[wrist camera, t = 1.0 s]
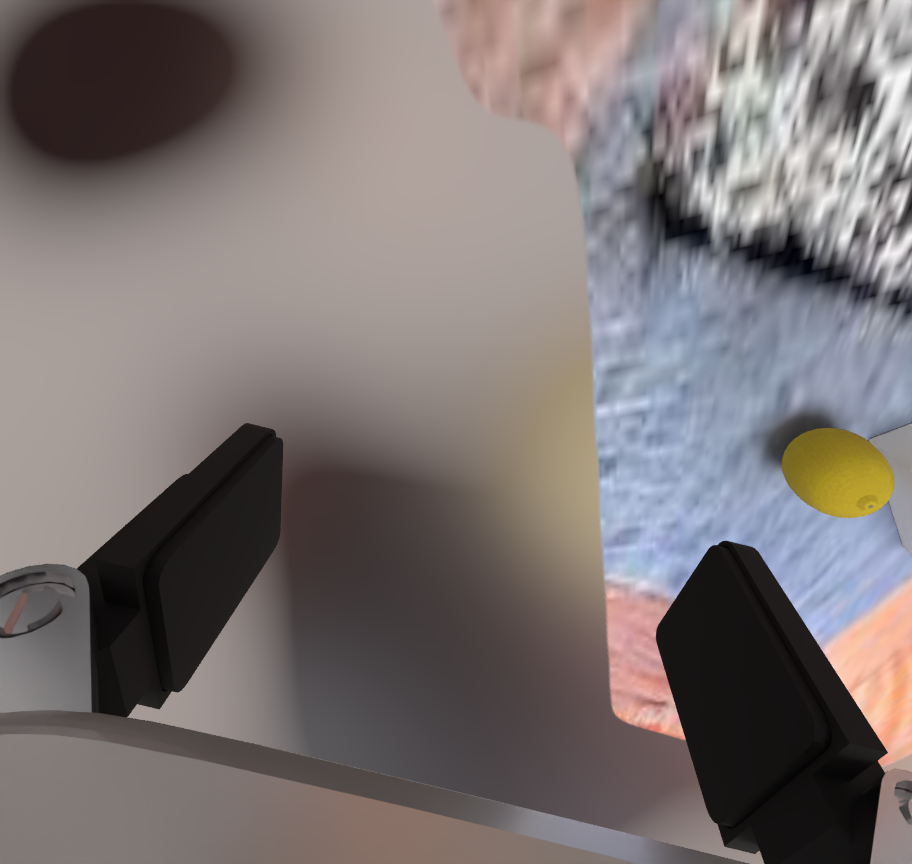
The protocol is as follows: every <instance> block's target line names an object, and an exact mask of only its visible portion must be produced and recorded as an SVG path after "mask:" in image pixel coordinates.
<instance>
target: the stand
mask: <svg viewBox="0 0 912 864" xmlns="http://www.w3.org/2000/svg"><path fill="white" fill-rule="evenodd" d="M869 442H870V443H871V444H872V445H874V446H875V447H876V448H877V449H878V450H879V451H880V452H881V453H882V454H883V455H884V457H885V458H886V459H887V461H888V463H889V465H890V467H891V469H892V471H893V473H894V480H895V487H894V490H893V493H892V496H891V497H890V499H889V500H888V501H889V504H890V507H891V510H892V514H893V517H894V520H895V523H896V526H897V529H898V532H899V535H900V538H901V541H902V545H903V547H904V548H905V549H906V550H907V551H908V552H909V553H910V554H911V555H912V423H911V424H908V425H906V426H903V427H900V428H898V429H895V430H892V431H890V432H887V433H884V434H882V435H879V436H877V437H874V438H871V439H869Z"/></svg>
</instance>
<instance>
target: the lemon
mask: <svg viewBox="0 0 912 864" xmlns="http://www.w3.org/2000/svg"><path fill="white" fill-rule="evenodd" d="M782 471H783V474H784V476H785V479H786V481H787V483H788V485H789V486H790V488H791V489H792V490H793V491H794V492H795V493H796V495H797V496H798V497H799V498H800V499H802V500H803V501H804V502H805V503H807V504H808V505H810V506H812V507H813V508H815V509H817V510H818V511H820V512H822V513H825V514H828V515H831V516H835V517H841V518H855V517H861V516H865V515H869V514H871V513H873V512H875V511H877V510H879V509H880V508H882V507H883V506H884V505H885V504H886V503H887V502H888V500H889V499H890V497H891V496H892V493H893V490H894V487H895V480H894V473H893V471H892V469H891V467H890V465H889V463H888V461H887V459H886V458H885V457H884V455H883V454H882V453H881V452H880V451H879V450H878V449H877V448H876V447H875V446H874V445H872V444H871V443H870V442H869V441H868V440H866V439H865V438H863V437H861V436H859V435H856V434H854V433H852V432H849V431H846V430H842V429H836V428H819V429H814V430H810V431H807V432H805V433H803V434H801V435H799V436H798V437H796V438H795V439H794V440H793V441H792V442H791V443H790V444H789V445H788V447H787V448H786V450H785V451H784V455H783V458H782Z"/></svg>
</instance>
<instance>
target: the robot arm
mask: <svg viewBox="0 0 912 864" xmlns="http://www.w3.org/2000/svg"><path fill="white" fill-rule="evenodd" d="M282 462H283V441H282V439H281V438H278V437H276V433H275V431H274V430H273V429H270V428H265V427H261V426H257V425H253V424H249V423H246V424H244V425H242V426H241V427H240V428H239V429H238V430H237V431H236V432H235V433H233V434H232V436H230V437H229V438H228V439H227V440H226V441H225V442H224V443H222V444H221V445H220V446H219V447H218V448H217V449H216V450H215V451H214V452H212V453H211V454H210V455H209V456H208V457H207V458H206V459H205V460H204V461H202V462H201V463H200V464H199V465H198V466H197V467H196V468H195V469H194V470H193V471H191V472H190V473H189V474H185V475H183V476H182V477H180V478H179V479H177V480H176V481H175V482H174V483H173V484H171V486H169V487H168V488H167V489H166V490H165V491H164V492H163V493H162V494H160V495H159V496H158V497H157V498H156V499H155V500H153V501H152V502H151V503H150V504H149V505H148V506H147V507H146V508H144V509H143V510H142V511H141V512H140V513H139V514H138V515H137V516H135V517H134V518H133V519H132V520H131V521H130V522H129V523H128V524H126V525H125V527H123V528H122V529H121V530H120V531H119V532H117V533H116V534H115V535H114V536H113V537H112V538H111V539H110V540H109V541H107V542H106V543H105V544H104V545H103V546H102V547H101V548H100V549H98V550H97V551H96V552H95V553H94V554H93V555H92V556H91V557H89V558H88V559H87V560H86V561H85V562H84V563H83V564H82V565H80V566H79V567H78V568H77V569H75V568H72V567H69V566H66V565H59V564H42V565H34V566H28V567H24V568H21V569H17V570H14V571H11V572H7V573H5V574H3V575H1V576H0V864H748V863H744V862H740V861H736V860H732V859H728V858H724V857H720V856H716V855H712V854H708V853H704V852H700V851H696V850H692V849H688V848H684V847H680V846H676V845H671V844H668V843H664V842H659V841H656V840H652V839H648V838H644V837H639V836H636V835H632V834H628V833H624V832H620V831H616V830H611V829H607V828H603V827H599V826H595V825H591V824H587V823H583V822H579V821H575V820H571V819H567V818H562V817H558V816H554V815H550V814H545V813H542V812H537V811H533V810H529V809H525V808H521V807H517V806H513V805H509V804H505V803H501V802H496V801H493V800H488V799H484V798H480V797H476V796H472V795H468V794H463V793H459V792H455V791H451V790H447V789H443V788H438V787H435V786H430V785H426V784H422V783H418V782H414V781H409V780H406V779H401V778H397V777H393V776H388V775H384V774H380V773H376V772H371V771H368V770H363V769H359V768H354V767H351V766H346V765H342V764H338V763H334V762H330V761H325V760H321V759H317V758H312V757H308V756H304V755H300V754H296V753H291V752H287V751H283V750H279V749H274V748H270V747H266V746H262V745H258V744H253V743H249V742H244V741H239V740H235V739H230V738H226V737H221V736H216V735H212V734H207V733H202V732H198V731H193V730H189V729H184V728H179V727H175V726H170V725H166V724H161V723H156V722H151V721H145V720H138V719H133V718H126V717H128V716H129V714H130V713H131V711H132V710H133V709H134V707H135V706H136V705H137V704H139V705H143V706H148V707H152V708H156V709H160V708H161V707H162V705H163V704H164V702H165V701H166V699H167V698H168V696H169V695H170V693H171V692H172V691H174V692H179V691H181V690H182V689H183V688H184V687H185V685H186V684H187V683H188V681H189V680H190V678H191V677H192V675H193V674H194V672H195V670H196V669H197V667H198V666H199V664H200V663H201V661H202V660H203V658H204V657H205V655H206V654H207V652H208V651H209V649H210V648H211V646H212V644H213V643H214V641H215V640H216V638H217V637H218V635H219V633H220V632H221V631H222V629H223V628H224V626H225V624H226V623H227V621H228V620H229V618H230V617H231V615H232V614H233V612H234V611H235V609H236V608H237V606H238V605H239V603H240V601H241V600H242V598H243V597H244V595H245V594H246V592H247V591H248V589H249V588H250V586H251V585H252V583H253V582H254V580H255V578H256V577H257V575H258V574H259V572H260V571H261V569H262V568H263V566H264V565H265V563H266V562H267V560H268V558H269V557H270V555H271V554H272V552H273V551H274V549H275V547H276V545H277V543H278V540H279V536H280V524H281V493H282V464H283V463H282ZM656 641H657V645H658V649H659V652H660V655H661V659H662V662H663V665H664V669H665V672H666V675H667V679H668V682H669V685H670V689H671V692H672V695H673V698H674V702H675V705H676V708H677V712H678V715H679V718H680V722H681V725H682V728H683V732H684V735H685V738H686V742H687V745H688V748H689V752H690V755H691V758H692V761H693V765H694V768H695V771H696V775H697V778H698V781H699V785H700V788H701V791H702V795H703V798H704V801H705V805H706V808H707V810H708V813H709V815H710V817H711V819H712V820H713V821H714V822H715V823H717V824H718V827H719V830H720V833H721V837H722V840H723V843H724V846H725V847H728V848H733V849H737V850H741V851H745V852H749V853H753V854H755V853H757V852H758V851H759V850H760V852H761V855H762V858H763V860H764V863H765V864H912V772H910V771H907V770H900V769H893V770H890V771H887V772H884V771H883V769H882V767H881V766H880V764H879V763H878V760H879V759H880V758H882V757H883V756H884V755H885V754H887V753H888V752H887V750H886V749H885V747H884V746H883V744H882V743H881V741H880V740H879V738H878V737H877V735H876V733H875V732H874V730H873V729H872V727H871V726H870V724H869V723H868V721H867V719H866V718H865V716H864V715H863V713H862V712H861V710H860V709H859V707H858V706H857V704H856V702H855V701H854V699H853V698H852V696H851V695H850V693H849V692H848V690H847V689H846V687H845V685H844V684H843V682H842V681H841V679H840V678H839V676H838V675H837V673H836V671H835V670H834V668H833V667H832V665H831V664H830V662H829V661H828V659H827V658H826V656H825V654H824V653H823V651H822V650H821V648H820V647H819V645H818V644H817V642H816V641H815V639H814V637H813V636H812V634H811V633H810V631H809V630H808V628H807V627H806V625H805V623H804V622H803V620H802V619H801V617H800V616H799V614H798V613H797V611H796V610H795V608H794V606H793V605H792V603H791V602H790V600H789V599H788V597H787V596H786V594H785V593H784V591H783V589H782V588H781V586H780V585H779V583H778V582H777V580H776V579H775V577H774V575H773V574H772V572H771V571H770V569H769V568H768V566H767V565H766V563H765V562H764V560H763V558H762V557H761V555H760V554H759V552H758V551H757V550H756V549H755V548H753V547H750V546H746V545H742V544H737V543H733V542H729V541H722V542H721V543H719V544H718V545H713V546H711V547H710V548H709V549H708V551H707V552H706V554H705V555H704V557H703V558H702V560H701V561H700V563H699V564H698V566H697V567H696V569H695V570H694V572H693V573H692V575H691V576H690V578H689V579H688V581H687V582H686V584H685V585H684V587H683V589H682V590H681V592H680V593H679V595H678V596H677V598H676V599H675V601H674V602H673V604H672V605H671V607H670V608H669V610H668V611H667V613H666V614H665V616H664V617H663V619H662V620H661V622H660V623H659V625H658V627H657V631H656Z"/></svg>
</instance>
